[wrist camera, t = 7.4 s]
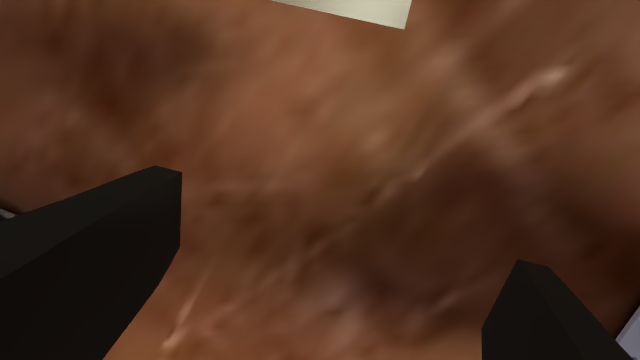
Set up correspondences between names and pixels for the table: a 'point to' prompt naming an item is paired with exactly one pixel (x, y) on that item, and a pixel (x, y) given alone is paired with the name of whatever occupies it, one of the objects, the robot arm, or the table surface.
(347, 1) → the cream block
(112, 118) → the table surface
